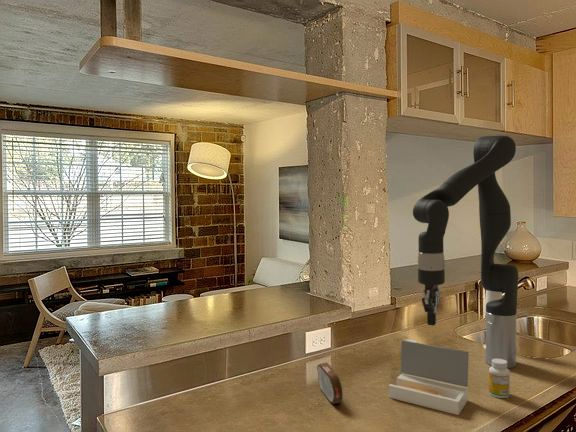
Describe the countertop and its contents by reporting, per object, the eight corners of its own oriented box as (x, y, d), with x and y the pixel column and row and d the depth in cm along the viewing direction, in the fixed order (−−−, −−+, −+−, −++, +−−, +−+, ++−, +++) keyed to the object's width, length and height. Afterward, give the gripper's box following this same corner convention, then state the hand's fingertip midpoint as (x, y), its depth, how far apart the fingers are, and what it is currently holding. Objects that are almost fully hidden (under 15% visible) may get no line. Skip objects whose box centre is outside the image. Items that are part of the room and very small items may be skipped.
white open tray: (401, 384, 139) (401, 373, 139) (467, 400, 128) (467, 387, 128) (388, 397, 131) (388, 385, 130) (458, 415, 120) (458, 401, 120)
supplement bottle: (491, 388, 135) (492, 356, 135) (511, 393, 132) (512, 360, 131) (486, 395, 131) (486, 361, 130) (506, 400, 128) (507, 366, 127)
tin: (343, 408, 125) (343, 377, 124) (332, 409, 124) (332, 378, 124) (325, 385, 140) (325, 358, 139) (315, 386, 139) (315, 359, 138)
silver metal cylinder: (507, 348, 168) (508, 283, 166) (494, 351, 165) (495, 285, 164) (492, 343, 174) (492, 280, 172) (479, 346, 171) (479, 282, 170)
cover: (400, 372, 138) (401, 371, 139) (467, 387, 127) (468, 386, 128) (401, 340, 138) (402, 340, 139) (468, 352, 127) (468, 351, 128)
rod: (398, 389, 134) (397, 382, 132) (445, 399, 127) (444, 392, 126) (396, 398, 132) (394, 391, 130) (443, 408, 125) (441, 401, 123)
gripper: (439, 272, 129) (439, 333, 130) (448, 264, 140) (449, 320, 142) (412, 270, 133) (413, 329, 134) (423, 262, 144) (424, 317, 145)
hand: (431, 324), depth 138 cm, fingers closed
